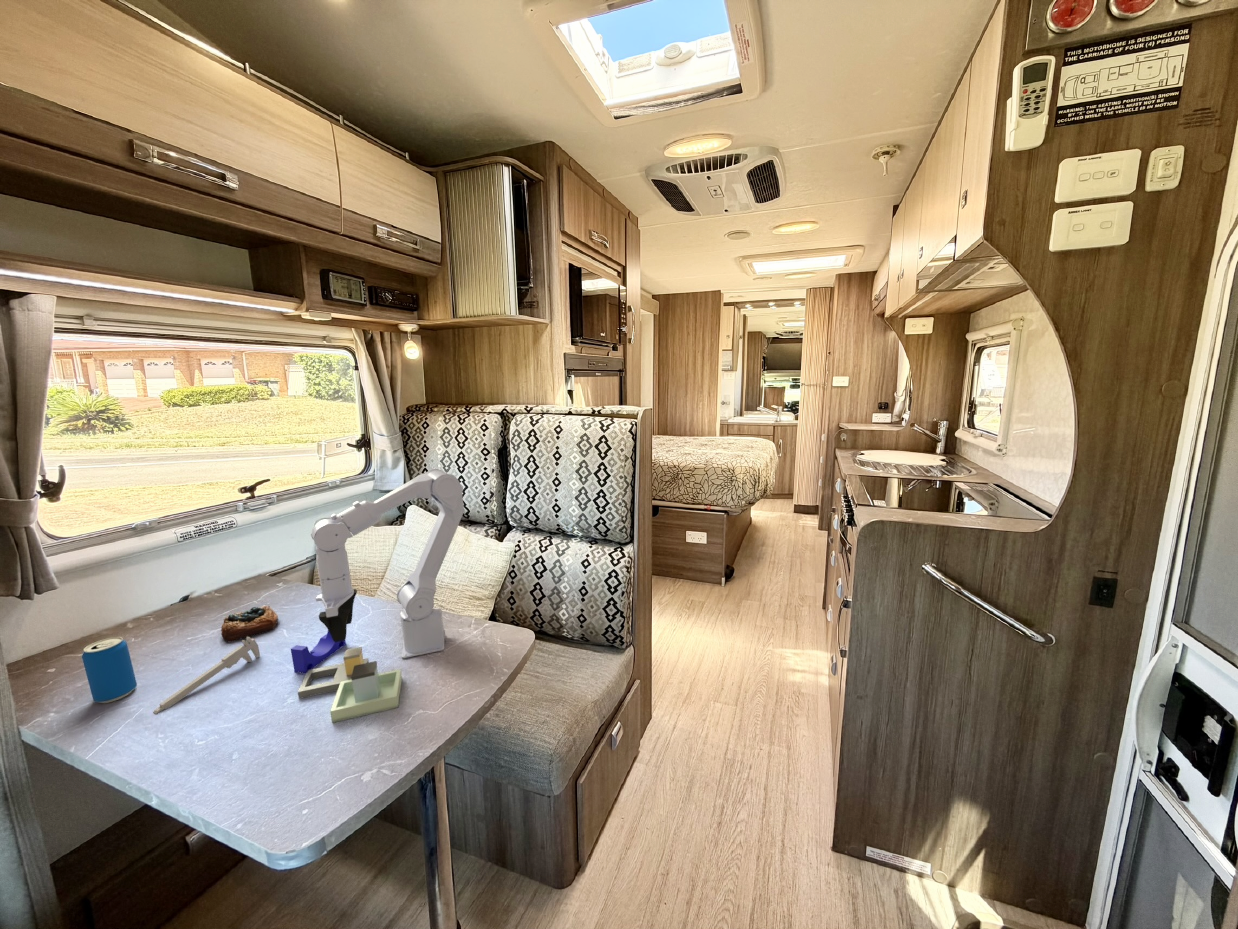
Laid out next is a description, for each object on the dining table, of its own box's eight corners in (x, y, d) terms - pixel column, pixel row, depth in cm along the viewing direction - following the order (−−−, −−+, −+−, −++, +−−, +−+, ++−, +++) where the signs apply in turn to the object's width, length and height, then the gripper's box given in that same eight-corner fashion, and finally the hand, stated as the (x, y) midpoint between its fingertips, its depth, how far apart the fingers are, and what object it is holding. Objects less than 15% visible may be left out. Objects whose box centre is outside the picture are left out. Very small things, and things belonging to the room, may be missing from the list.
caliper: (257, 657, 114) (252, 633, 113) (260, 657, 114) (256, 634, 112) (153, 714, 95) (146, 686, 94) (156, 715, 95) (150, 687, 93)
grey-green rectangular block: (380, 689, 99) (376, 661, 98) (378, 701, 96) (374, 672, 94) (358, 694, 98) (354, 665, 97) (355, 706, 94) (351, 677, 93)
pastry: (223, 629, 127) (219, 609, 126) (277, 614, 135) (273, 595, 134) (222, 646, 119) (217, 625, 118) (280, 630, 126) (276, 609, 125)
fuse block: (368, 664, 109) (365, 640, 108) (363, 684, 102) (359, 660, 101) (309, 676, 105) (305, 652, 104) (298, 698, 98) (294, 673, 97)
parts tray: (402, 679, 103) (400, 669, 103) (397, 707, 94) (396, 696, 94) (342, 692, 100) (340, 681, 99) (332, 723, 91) (330, 711, 90)
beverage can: (105, 690, 102) (92, 640, 100) (143, 682, 105) (132, 633, 103) (86, 709, 97) (72, 656, 94) (128, 700, 99) (115, 648, 97)
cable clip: (330, 643, 119) (327, 621, 118) (346, 644, 118) (342, 622, 117) (289, 672, 107) (285, 648, 106) (305, 674, 106) (301, 650, 105)
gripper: (320, 565, 107) (329, 620, 110) (304, 591, 94) (314, 653, 97) (355, 560, 110) (363, 614, 112) (344, 585, 97) (353, 645, 99)
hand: (343, 631), depth 105 cm, fingers open, 7 cm apart
